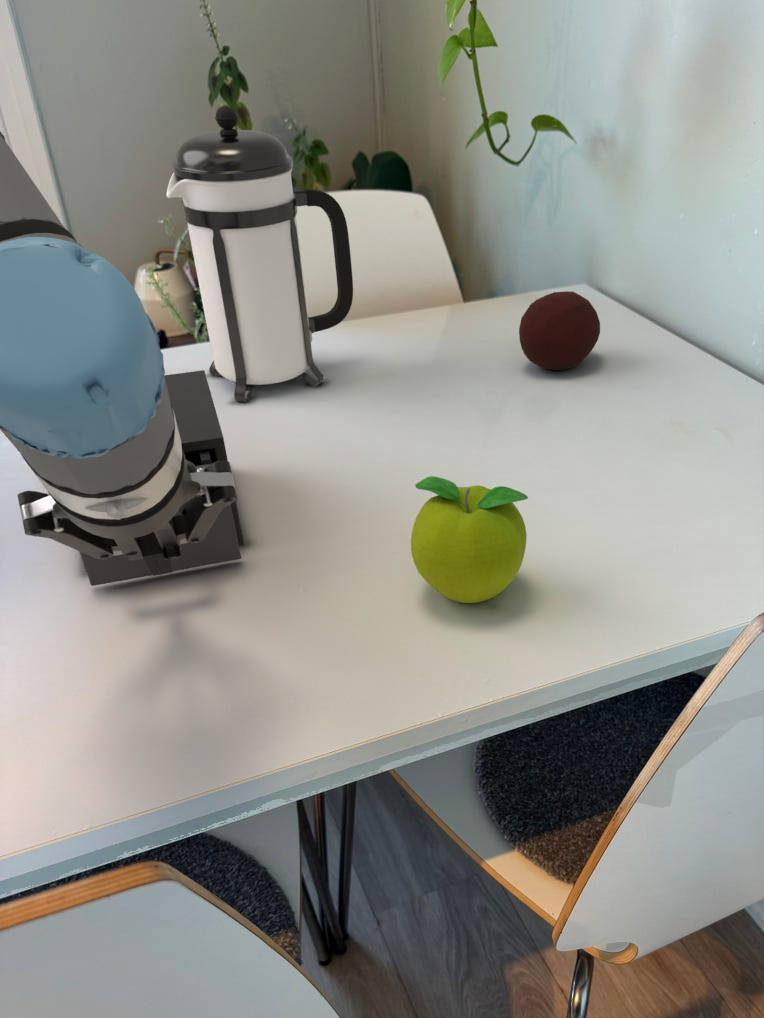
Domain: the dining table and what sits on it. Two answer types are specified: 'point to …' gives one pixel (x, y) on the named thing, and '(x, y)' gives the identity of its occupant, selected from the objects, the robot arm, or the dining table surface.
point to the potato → (559, 330)
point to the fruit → (468, 539)
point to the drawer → (208, 551)
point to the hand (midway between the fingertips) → (159, 557)
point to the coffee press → (254, 254)
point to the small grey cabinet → (198, 421)
